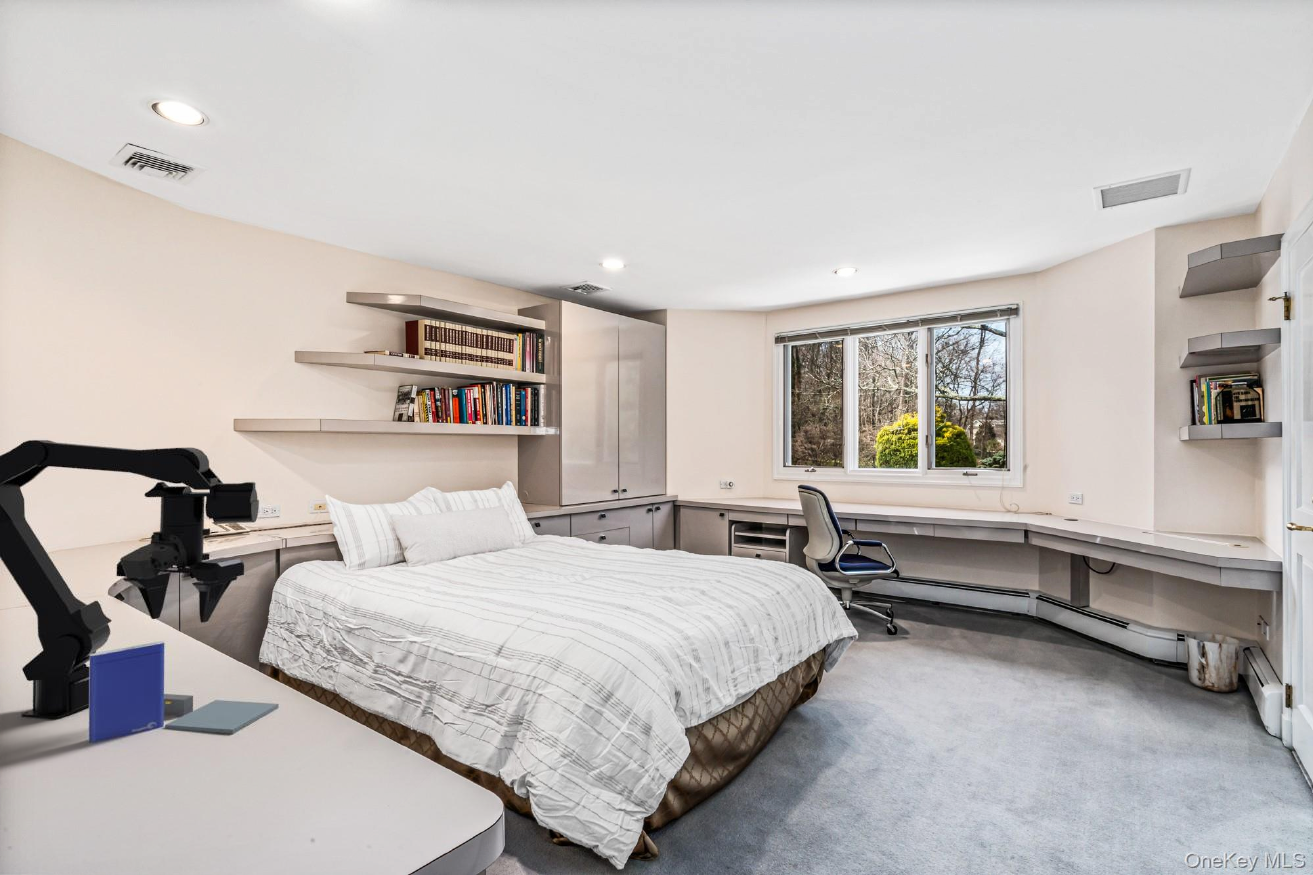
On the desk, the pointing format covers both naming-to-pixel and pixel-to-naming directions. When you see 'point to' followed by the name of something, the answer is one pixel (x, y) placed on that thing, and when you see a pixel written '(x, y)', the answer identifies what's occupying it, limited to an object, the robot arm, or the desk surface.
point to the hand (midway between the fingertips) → (179, 620)
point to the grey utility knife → (177, 704)
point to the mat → (223, 716)
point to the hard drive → (126, 691)
